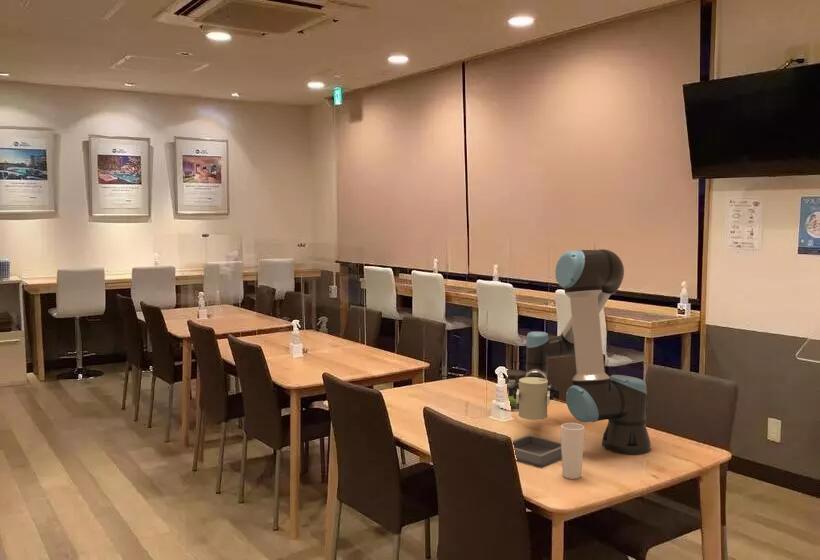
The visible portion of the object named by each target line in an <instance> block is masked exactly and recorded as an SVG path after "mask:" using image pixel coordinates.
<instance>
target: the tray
mask: <svg viewBox="0 0 820 560" xmlns="http://www.w3.org/2000/svg"><path fill="white" fill-rule="evenodd" d="M512 441H513V445H514V450H515V455H516V458H517V461H516V462H519V463H522V462H523V463H522V464H526V465H529V466H532V465H533V467H536V468H539V467H540V469H542V468H544V467H546V466H548V465H551V464H554V463H556V462H558V461H560V460H561V461H562V453H561V442H559V441H555V440H551V439H548V438H545V437H544V438H543V437H541V436H536V435H533V434H527V435H525V436H523V437H519V438H516V439H513V440H512Z"/></svg>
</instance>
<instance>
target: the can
mask: <svg viewBox="0 0 820 560" xmlns="http://www.w3.org/2000/svg"><path fill="white" fill-rule="evenodd" d="M548 382H549V381H548V379H547V380H546V379H543V378H538V377H525V378H521V379H519V411H518V417H520V418H522V419H525V420H529V421H530V420H531V421H537V420H544V419H547V418H548V404H547V390H548V386H549V383H548Z"/></svg>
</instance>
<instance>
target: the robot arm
mask: <svg viewBox="0 0 820 560" xmlns="http://www.w3.org/2000/svg"><path fill="white" fill-rule="evenodd" d="M554 270H555V271H554V272H555V273H554V274H555V279H556V280H555V281H556V282H557V284H558V286H559V287H561V288H563V290H564V295H566V296H567V297H568V298H569V301H570V311H571V312H570V313H571V314H570V315H571V317H570V318H569V320H568V322H567V323H566V326H565V327H564V329H563V330H562V332H561V334H560V335H555V336H554V335H553V336H549V333H547V332H545V331H529V332H528V333H527V335H526V341H525V342H526V343H525V346H526V347H525V348H526V350H525V351H526V353H525V354H526V357H525V358H526V361H525V362H526V363H525V372H526V377H538V378H543V379H546V380H548V377H549V373H548V364H549V363H548V360H549V359H552V358H563V357H574V358H575V370H576V373H575V375H574V376H573V378H572V379H571V380H572V381H571V382H572V383H571V384H572V385H571V386H570V387H568V388H567V390H566V391H567V392H565V394H566V395H565V401H566V406H567V409H568V411H569V412H570V414H571V415H572V417H573V418H574V419H575V420H577V421H578V422H581V423H595V422H599V421H604V420H607V425H606V428H605V431H604V433H603V435H602V439H601V446H602V447H603V448H604V449H606V450H607V451H609V452H613V453H617V454H622V455H623V454H625V455H640V454H641V455H642V454H646V453H649V452H650V451H651V447H652V446H651V445H652V444H651V443H652V442H651V439H650V436H649V433H648V429H647V426H646V422H647V421H646V420H647V399H648V398H647V397H648V391H647V383H646V381H644V379H641V378H638V377H634V376H628V375H623V374H611V375H610V376H609V375H608V374H607V373H606V372H605V364H604V353H603V343H602V341H603V340H602V330H601V318H600V314H601V311H602V310H603V308H604V306H605V305H606V303H607V301H608V300H609V298H610V296H612V295H614V294H616V293H617V292H618V290H619V288H620V287H621V285H622V283H623V280H624V275H625V267H624V264H623V261H622V260H621V257H619V255H618V254H616V253H615V252H613V251H611V250H609V249H575V250H568V251H566V252H563V254H562V255H560V257H559V259H558V260H557V263H556V266H555V269H554ZM556 385H557V384H555V383H551V384H549V385H548V390H547V405H550V401H553V400H554V398H555V399H557V400H558V399H560V390H559V389H558V388H557V386H556ZM509 396H513V398H514V399H516V403H519V383H518V382H514V384H513V385H512V386H511V387H510V388H509Z"/></svg>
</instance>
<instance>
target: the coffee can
mask: <svg viewBox="0 0 820 560" xmlns="http://www.w3.org/2000/svg"><path fill="white" fill-rule="evenodd" d="M506 370H507V375H508V379H507V394H508V398H509V401H510V406H511V410H514V411H513V412H519V403H516V399H514V398H513V396H509V388H510V387H511V386H512V385H513V384H514V382H518V383H519V379H521V378H525V377H526V370H525V371H524V370H521V369H506Z"/></svg>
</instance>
